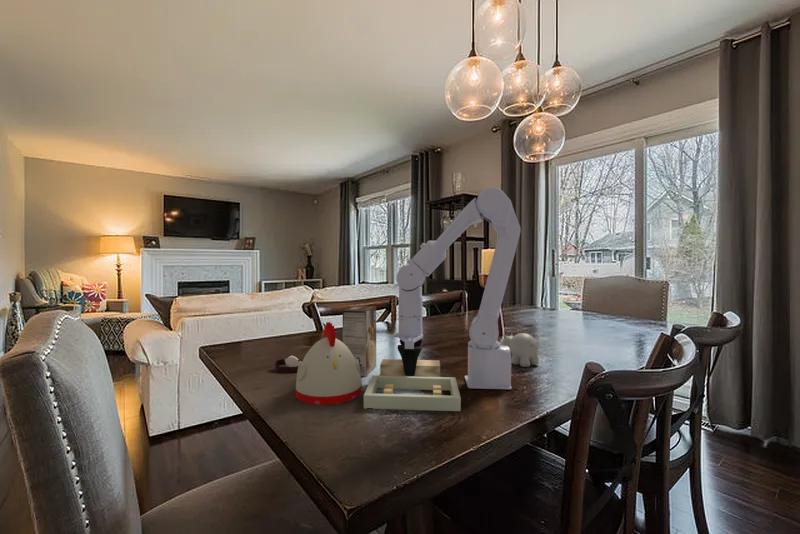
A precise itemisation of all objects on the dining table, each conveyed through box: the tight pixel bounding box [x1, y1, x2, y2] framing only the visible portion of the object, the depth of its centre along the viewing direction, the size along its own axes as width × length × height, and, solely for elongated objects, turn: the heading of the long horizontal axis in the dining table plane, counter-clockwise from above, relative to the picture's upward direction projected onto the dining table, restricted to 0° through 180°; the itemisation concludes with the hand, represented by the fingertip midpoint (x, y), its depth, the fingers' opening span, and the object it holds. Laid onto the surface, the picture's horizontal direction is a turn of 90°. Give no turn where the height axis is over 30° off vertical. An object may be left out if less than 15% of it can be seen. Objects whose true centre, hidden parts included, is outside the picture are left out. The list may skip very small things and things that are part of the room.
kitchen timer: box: [295, 321, 363, 406], centre depth 81 cm, size 14×14×15 cm
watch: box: [274, 355, 303, 373], centre depth 97 cm, size 8×5×4 cm, turn 84°
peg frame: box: [363, 374, 462, 412], centre depth 78 cm, size 18×12×2 cm
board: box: [379, 358, 441, 377], centre depth 91 cm, size 14×5×4 cm, turn 86°
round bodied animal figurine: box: [499, 332, 540, 368], centre depth 105 cm, size 7×12×8 cm, turn 30°
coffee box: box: [342, 305, 377, 377], centre depth 97 cm, size 9×6×16 cm
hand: (410, 372), depth 91 cm, fingers open, 5 cm apart
